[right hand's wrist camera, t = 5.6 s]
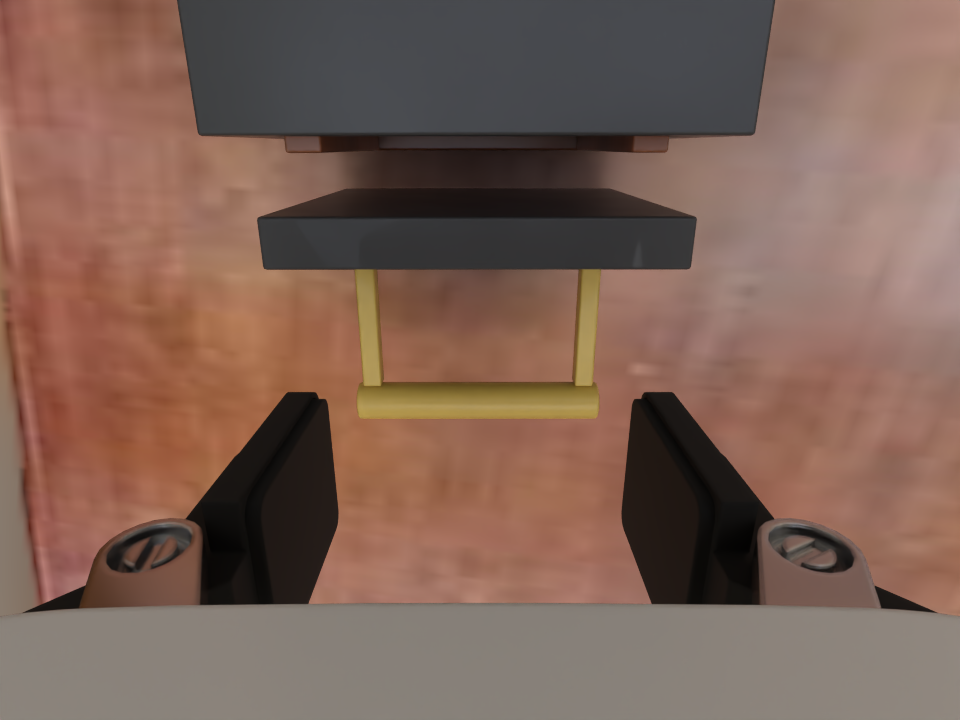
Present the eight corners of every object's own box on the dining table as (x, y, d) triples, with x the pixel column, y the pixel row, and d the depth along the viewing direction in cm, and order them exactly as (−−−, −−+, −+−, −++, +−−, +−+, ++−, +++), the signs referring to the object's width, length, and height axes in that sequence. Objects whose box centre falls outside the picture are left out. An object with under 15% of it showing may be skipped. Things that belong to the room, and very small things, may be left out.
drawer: (597, 367, 24) (663, 490, 15) (358, 367, 24) (291, 490, 15) (652, -363, 16) (842, -924, 8) (301, -363, 16) (105, -923, 8)
